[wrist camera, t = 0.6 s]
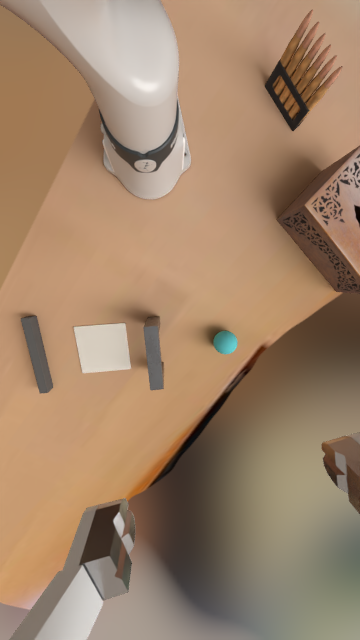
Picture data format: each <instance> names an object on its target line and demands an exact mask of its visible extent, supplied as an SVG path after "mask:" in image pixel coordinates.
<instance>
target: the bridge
mask: <svg viewBox="0 0 360 640" xmlns="http://www.w3.org/2000/svg"><path fill="white" fill-rule="evenodd" d="M159 328H160V317H148V318H147V321H146V323H145V325H144V336H145V345H146V354H147V363H148V373H149V382H150V390H158V389H164V362H163V363H161V352H160V341H159Z"/></svg>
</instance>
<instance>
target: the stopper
mask: <svg viewBox="0 0 360 640" xmlns="http://www.w3.org/2000/svg"><path fill="white" fill-rule="evenodd" d="M21 322H22V326H23V330H24V334H25V338H26V341H27V345H28V349H29V353H30V357H31V361H32V365H33V369H34V373H35V376H36V380H37V384H38V388H39V392H40V393H48V392H49V391H50V390H51V389H52V388H53V384H52V380H51V375H50V371H49V367H48V363H47V358H46V354H45V350H44V346H43V342H42V337H41V333H40V329H39V325H38V320H37V316H28V317H25V318H21Z"/></svg>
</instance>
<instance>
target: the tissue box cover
mask: <svg viewBox="0 0 360 640" xmlns="http://www.w3.org/2000/svg"><path fill="white" fill-rule="evenodd" d="M277 221H278V222H279V223H280V224H281V226H282V227H283V228H284V229H285V230H286V232H287V233H288V234H289V235H290V236H291V238H292V239H293V240H294V241H295V243H296V244H297V245H298V246H299V247H300V249H301V250H302V251H303V252H304V253H305V255H306V256H307V257H308V258H309V259H310V261H311V262H312V263H313V264H314V265H315V267H316V268H317V269H318V270H319V271H320V273H321V274H322V275H323V276H324V277H325V279H326V280H327V281H328V282H329V283H330V285H331V286H332V287H333V288H334V290H335V291H336V292H345V293H357V294H360V227H359V225H360V146H359V147H357V148H356V149H354V150H353V151H351V152H350V153H348V154H347V155H345V156H344V157H342V158H341V159H339V160H338V161H337V162H335V163H334V164H332V165H331V166H329V167H328V168H326V169H325V170H323V171H322V172H321V173H320V174H319V175H318V176H317V177H316V178H315V179H314V180H313V181H312V182H311V184H310V185H309V186H308V187H307V188H306V189H305V190H304V191H303V192H302V193H301V194H300V195H299V196H298V197H297V198H296V199H295V201H294V202H293V203H292V204H291V205H290V206H289V207H288V208H287V209H286V210H285V211H284V212H283V213H282V214H281V215H280V216H279V218H278V219H277Z"/></svg>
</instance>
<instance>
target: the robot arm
mask: <svg viewBox="0 0 360 640" xmlns="http://www.w3.org/2000/svg"><path fill="white" fill-rule="evenodd" d="M0 5H1V6H3V7H5V8H6V9H8V10H10V11H11V12H13V13H14V14H15V15H17V16H18V17H19V18H21V19H22V20H24V21H25V22H26V23H27V24H29V25H30V26H31V27H33V28H34V29H35V30H37V31H38V32H39V33H40V34H41V35H42V36H44V37H45V38H46V39H47V40H48V41H49V42H50V43H52V44H53V45H54V46H55V47H56V48H57V49H58V50H59V51H60V52H61V53H62V54H63V55H64V56H65V57H66V58H67V59H68V60H69V61H70V62H71V63H72V64H73V65H74V67H75V68H76V69H77V70H78V71H79V72H80V74H81V75H82V76H83V78H84V79H85V81H86V82H87V84H88V86H89V88H90V90H91V92H92V94H93V96H94V98H95V101H96V103H97V105H98V107H99V112H100V117H101V121H102V123H101V131H102V133H103V134H104V139H103V140H102V142H103V146H104V160H103V161H104V165H105V168H106V169H107V170H108V171H109V172H110V173H112V174H113V175H115V176H117V177H118V179H119V180H120V181H121V183H122V184H123V185H124V187H125V188H126V189H127V190H128V191H129V192H131V193H132V194H134V195H135V196H137V197H140V198H143V199H157V198H160V197H162V196H164V195H166V194H167V193H169V192H170V191H171V190H172V189H173V187H174V186H175V184H176V183H177V181H178V179H179V177H180V175H181V174H182V173H183V172H185V171H186V170H187V169H188V168H189V167H190V165H191V156H190V152H189V147H188V142H187V137H186V133H185V128H184V123H183V119H182V114H181V109H180V104H179V100H178V95H177V92H178V75H179V52H178V45H177V40H176V36H175V32H174V29H173V26H172V24H171V21H170V19H169V17H168V15H167V12H166V10H165V8H164V6H163V4H162V2H161V1H160V0H0ZM184 154H186V156H184ZM322 450H323V452H324V453H325V456H324V458H323V462H324V466H325V469H326V471H327V473H328V475H329V476H330V478H331V479H332V481H333V482H334V483H335V485H336V486H337V487H338V488H339V489H341V490H343V491H344V492H346V493H348V498H349V502H350V503H351V504H352V505H353V507H354V508H355V509H356V510H357V512H358V513H359V514H360V432H359V433H354V434H351V435H348V436H342V437H339V438H336V439H332V440H329V441H326V442H323V443H322ZM127 509H128V502H127V500H126V498H123V499H119V500H116V501H112V502H108V503H104V504H99V505H96V506H92V507H88V508H86V510H85V511H84V513H83V515H82V518H81V520H80V523H79V526H78V529H77V532H76V534H75V537H74V540H73V543H72V545H71V548H70V551H69V554H68V557H67V559H66V562H65V565H64V568H63V570H62V571H59V572H58V573H57V574H56V576H55V577H54V578H53V580H52V581H51V582H50V584H49V585H48V587H47V588H46V589H45V591H44V592H43V594H42V595H41V596H40V598H39V599H38V601H37V602H36V603H35V605H34V606H33V607H32V609H31V610H30V612H29V613H28V614H27V616H26V617H25V619H24V620H23V621H22V623H21V624H20V626H19V627H18V628H17V630H16V631H15V633H14V634H13V636H12V637H11V638H10V639H9V640H87V638H88V636H89V633H90V631H91V629H92V627H93V624H94V623H95V620H96V618H97V616H98V614H99V612H100V610H101V607H102V605H103V600H106V599H109V598H112V597H115V596H118V595H122V594H125V593H128V590H129V582H130V574H131V566H132V562H131V559H130V557H129V554H130V552H131V550H132V548H133V546H134V541H135V520H134V516H133V514H132V512H131V511H129V510H127Z"/></svg>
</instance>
